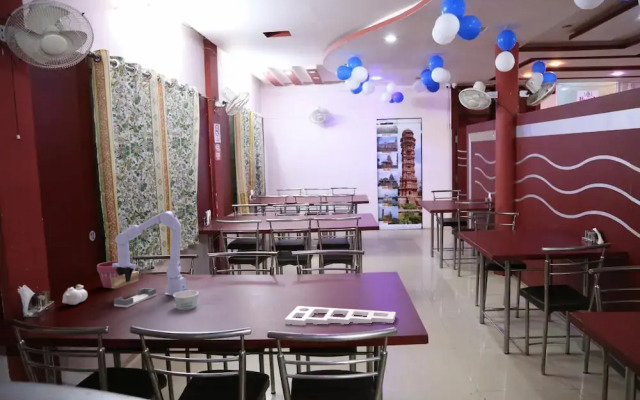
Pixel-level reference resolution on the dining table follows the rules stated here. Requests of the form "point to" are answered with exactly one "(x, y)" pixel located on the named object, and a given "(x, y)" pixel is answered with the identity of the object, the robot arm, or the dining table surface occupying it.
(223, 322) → the dining table surface
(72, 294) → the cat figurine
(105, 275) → the plant pot
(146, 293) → the cradle
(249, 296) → the dining table surface
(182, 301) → the food container
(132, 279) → the oak slat
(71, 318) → the dining table surface
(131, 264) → the robot arm
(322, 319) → the holder
